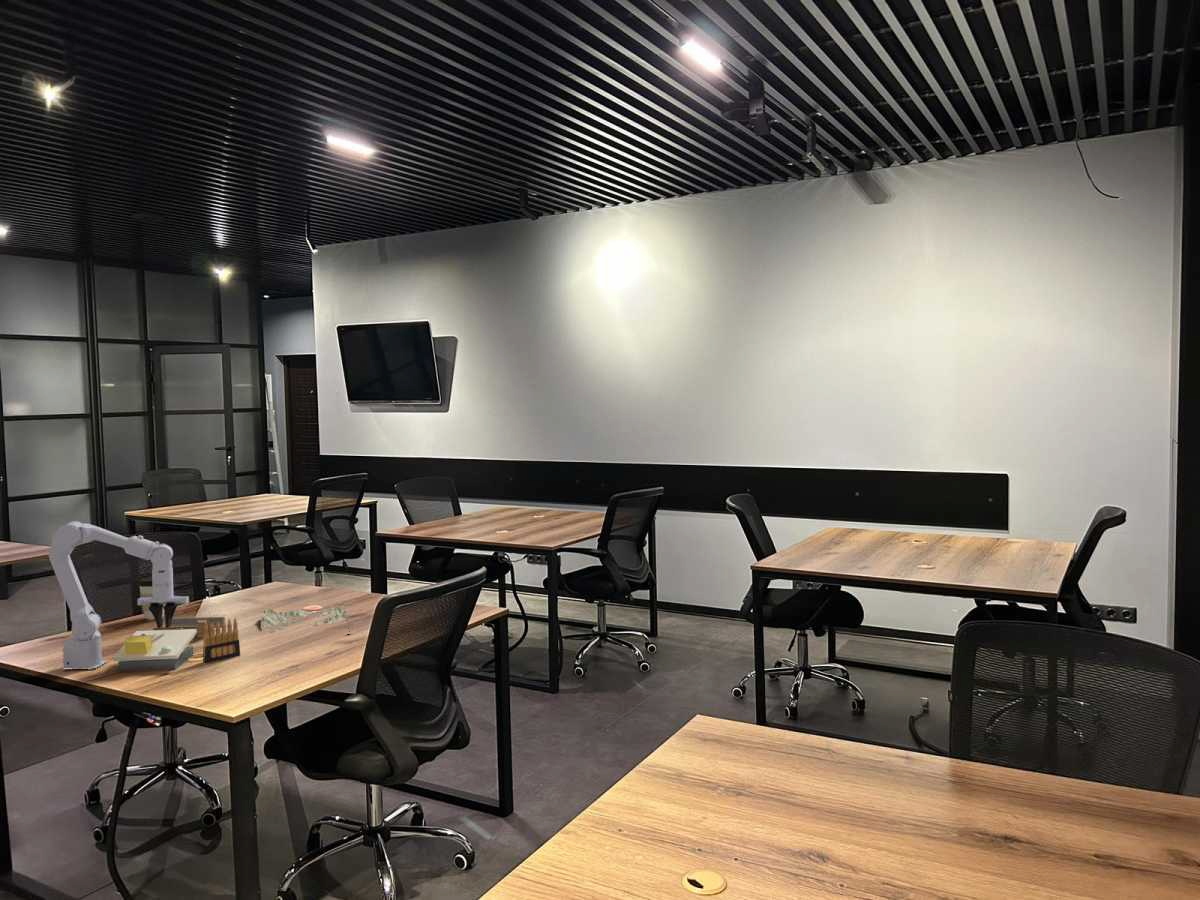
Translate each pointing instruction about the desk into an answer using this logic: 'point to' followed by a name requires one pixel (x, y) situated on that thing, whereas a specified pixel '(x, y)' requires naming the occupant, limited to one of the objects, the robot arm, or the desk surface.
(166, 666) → the leveling base
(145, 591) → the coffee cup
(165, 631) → the plate
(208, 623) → the skate ramp
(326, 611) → the topographic map model
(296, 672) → the desk surface
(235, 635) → the ammunition clip
